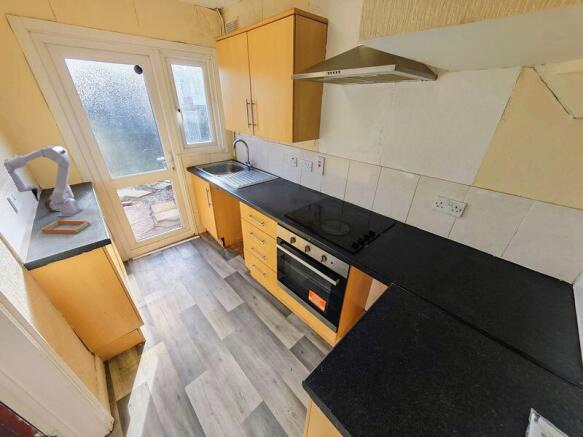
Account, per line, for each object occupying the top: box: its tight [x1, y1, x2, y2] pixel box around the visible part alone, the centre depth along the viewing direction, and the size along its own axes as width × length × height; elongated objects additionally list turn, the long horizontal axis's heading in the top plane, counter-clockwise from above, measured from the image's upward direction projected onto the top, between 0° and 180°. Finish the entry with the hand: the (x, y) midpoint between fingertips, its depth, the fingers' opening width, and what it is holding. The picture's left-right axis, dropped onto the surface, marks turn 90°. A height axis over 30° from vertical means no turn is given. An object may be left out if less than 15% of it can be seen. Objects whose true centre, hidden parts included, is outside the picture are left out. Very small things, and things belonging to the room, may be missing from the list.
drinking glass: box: [67, 183, 75, 199], centre depth 168 cm, size 7×7×10 cm
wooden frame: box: [40, 219, 91, 235], centre depth 133 cm, size 10×19×2 cm, turn 88°
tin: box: [44, 197, 58, 211], centre depth 154 cm, size 15×3×8 cm, turn 0°
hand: (29, 202), depth 140 cm, fingers open, 7 cm apart
